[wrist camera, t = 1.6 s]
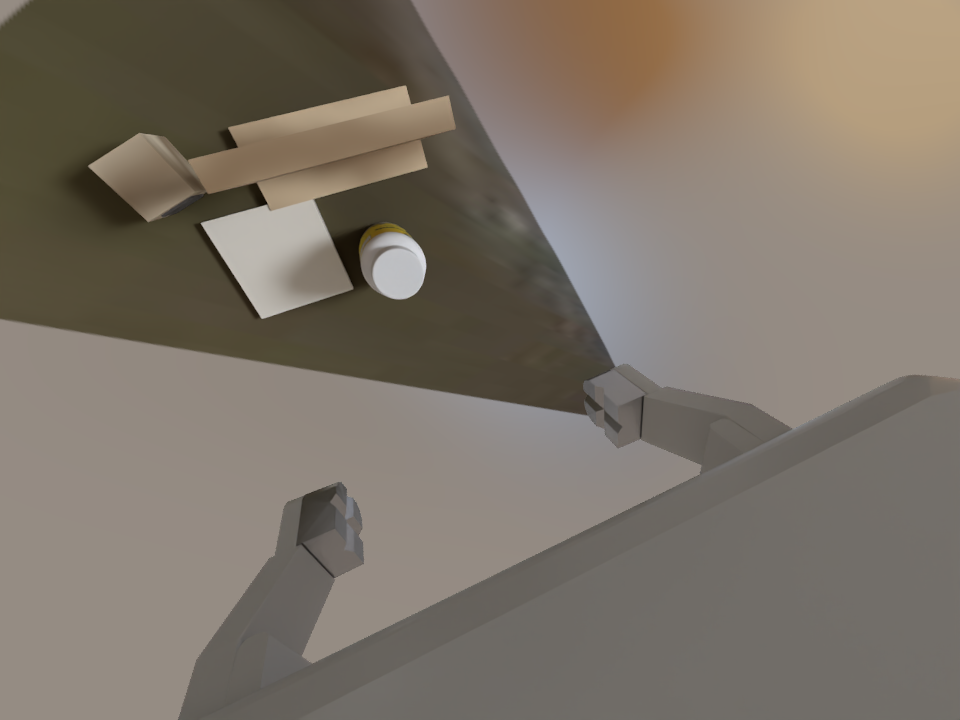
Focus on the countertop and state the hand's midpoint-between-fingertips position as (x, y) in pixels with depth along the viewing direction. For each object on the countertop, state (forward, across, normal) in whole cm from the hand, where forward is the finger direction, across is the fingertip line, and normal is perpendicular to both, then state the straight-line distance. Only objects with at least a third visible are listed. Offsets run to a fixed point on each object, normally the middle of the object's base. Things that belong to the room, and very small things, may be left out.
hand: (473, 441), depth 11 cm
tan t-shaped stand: (+29, +1, -9) cm, 30 cm away
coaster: (+29, +9, -2) cm, 30 cm away
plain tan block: (+29, +14, -10) cm, 34 cm away
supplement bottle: (+29, 0, 0) cm, 29 cm away
